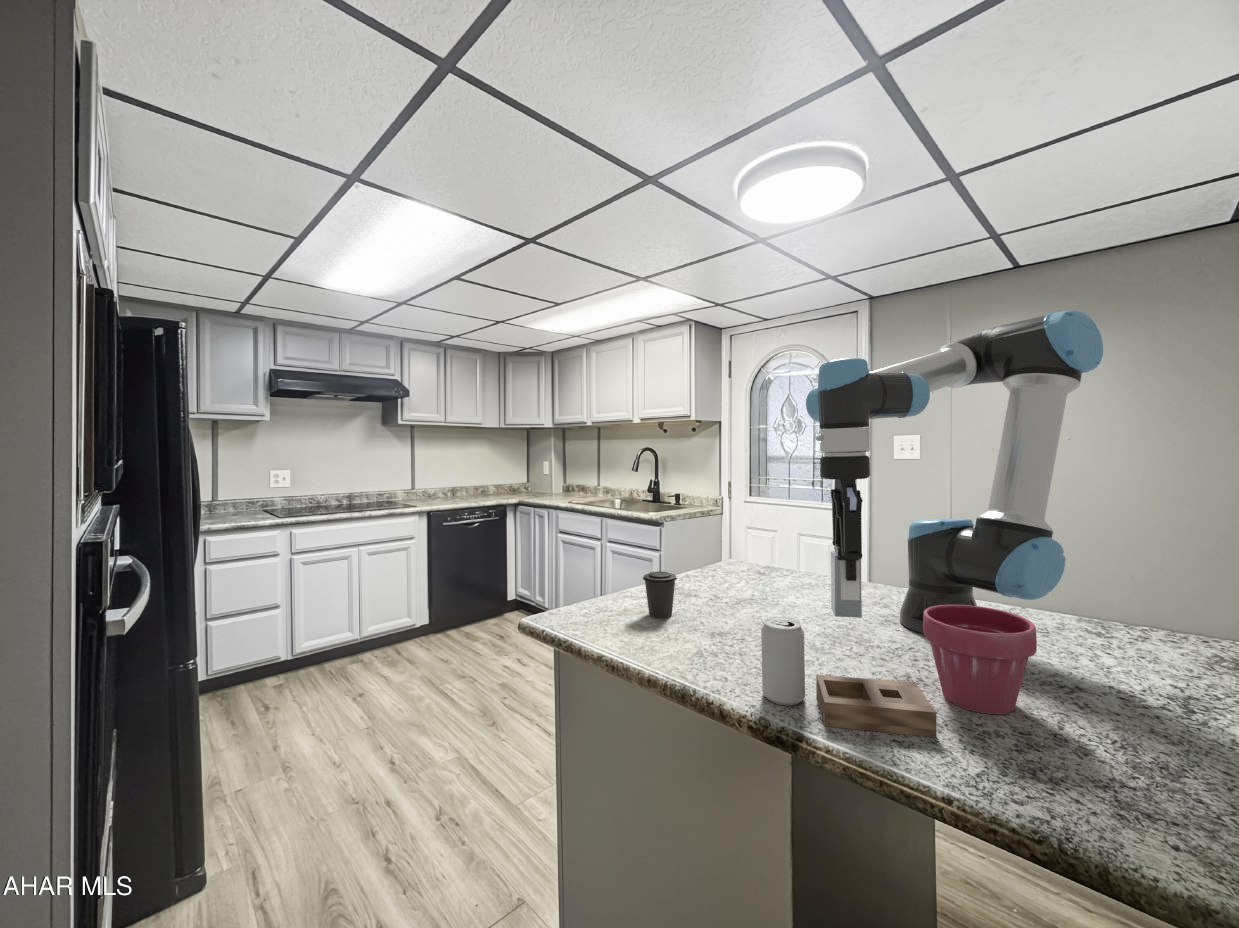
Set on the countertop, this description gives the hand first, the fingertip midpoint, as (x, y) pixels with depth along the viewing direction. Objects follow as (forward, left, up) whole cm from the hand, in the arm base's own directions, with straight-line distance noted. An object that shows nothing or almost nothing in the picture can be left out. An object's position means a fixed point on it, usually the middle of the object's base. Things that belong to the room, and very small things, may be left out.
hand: (847, 594), depth 86 cm
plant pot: (-18, +3, -15) cm, 23 cm away
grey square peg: (0, 0, -3) cm, 3 cm away
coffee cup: (+36, -28, -15) cm, 48 cm away
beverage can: (+11, +8, -15) cm, 20 cm away
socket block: (-1, +11, -14) cm, 18 cm away
